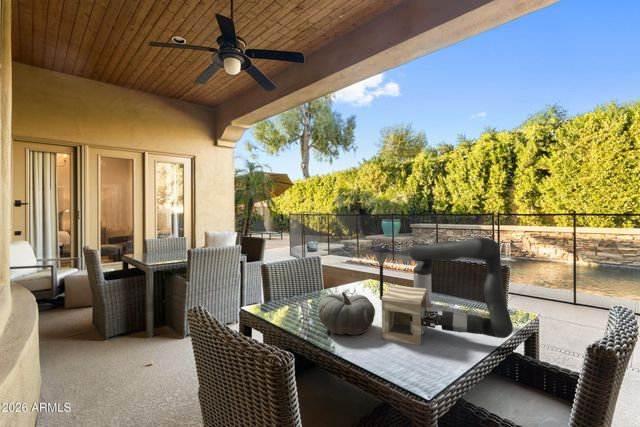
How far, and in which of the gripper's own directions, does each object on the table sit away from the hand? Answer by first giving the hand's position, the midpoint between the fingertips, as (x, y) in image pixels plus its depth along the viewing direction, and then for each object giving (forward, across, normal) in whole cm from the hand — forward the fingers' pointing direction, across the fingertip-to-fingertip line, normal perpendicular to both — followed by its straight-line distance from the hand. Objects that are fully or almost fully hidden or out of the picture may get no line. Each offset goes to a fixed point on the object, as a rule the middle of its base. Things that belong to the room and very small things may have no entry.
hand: (411, 316), depth 135 cm
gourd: (+27, +6, +8) cm, 29 cm away
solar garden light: (+24, -44, +7) cm, 51 cm away
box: (+2, 0, +7) cm, 8 cm away
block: (-3, 0, +6) cm, 7 cm away
